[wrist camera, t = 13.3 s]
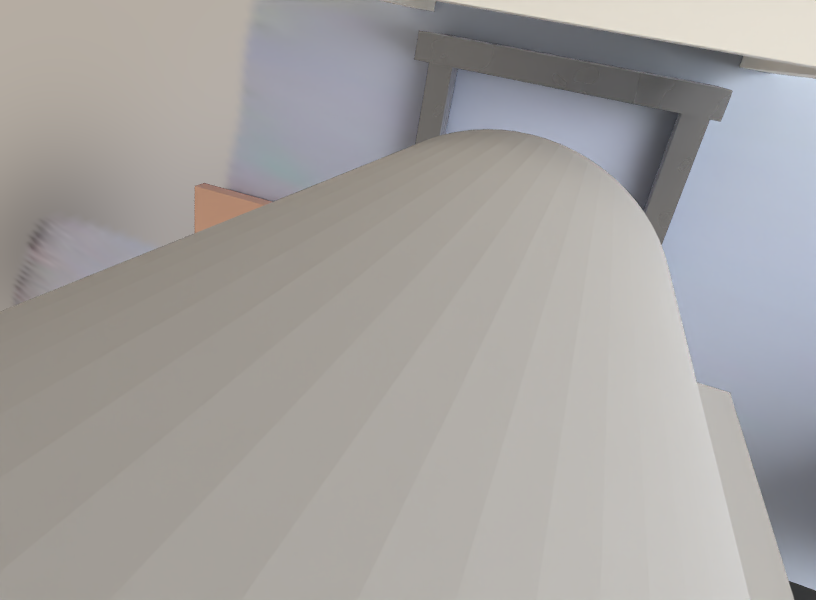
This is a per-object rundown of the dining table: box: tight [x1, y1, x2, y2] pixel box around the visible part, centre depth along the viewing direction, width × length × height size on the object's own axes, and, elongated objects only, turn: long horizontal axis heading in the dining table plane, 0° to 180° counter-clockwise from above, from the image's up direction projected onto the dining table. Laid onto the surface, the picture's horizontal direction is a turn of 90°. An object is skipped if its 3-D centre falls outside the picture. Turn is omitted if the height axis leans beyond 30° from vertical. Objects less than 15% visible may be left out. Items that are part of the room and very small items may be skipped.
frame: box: [414, 31, 733, 245], centre depth 25 cm, size 19×11×4 cm, turn 170°
